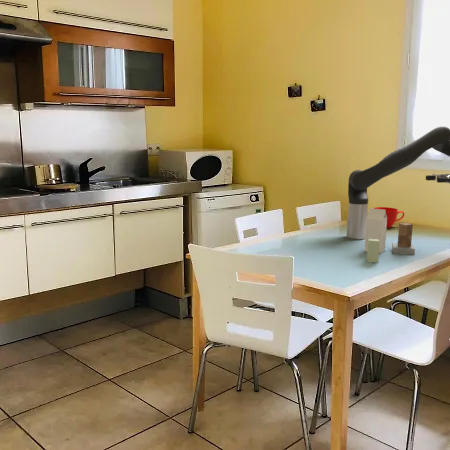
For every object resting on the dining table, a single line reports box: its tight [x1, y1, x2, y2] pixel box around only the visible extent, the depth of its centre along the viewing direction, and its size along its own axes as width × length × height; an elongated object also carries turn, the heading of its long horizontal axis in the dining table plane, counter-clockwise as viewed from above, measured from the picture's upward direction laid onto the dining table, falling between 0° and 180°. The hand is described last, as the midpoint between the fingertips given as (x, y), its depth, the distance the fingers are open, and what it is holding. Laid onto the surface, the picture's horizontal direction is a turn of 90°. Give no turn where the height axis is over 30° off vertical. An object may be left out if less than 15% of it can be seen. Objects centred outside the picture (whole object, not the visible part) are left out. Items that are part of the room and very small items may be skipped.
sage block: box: [366, 239, 380, 263], centre depth 214 cm, size 4×4×9 cm
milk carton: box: [364, 207, 387, 254], centre depth 229 cm, size 7×7×19 cm
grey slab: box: [391, 242, 416, 256], centre depth 231 cm, size 9×9×3 cm
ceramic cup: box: [372, 206, 405, 229], centre depth 284 cm, size 13×17×10 cm
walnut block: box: [397, 222, 414, 247], centre depth 230 cm, size 4×4×10 cm
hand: (431, 178), depth 227 cm, fingers open, 8 cm apart
